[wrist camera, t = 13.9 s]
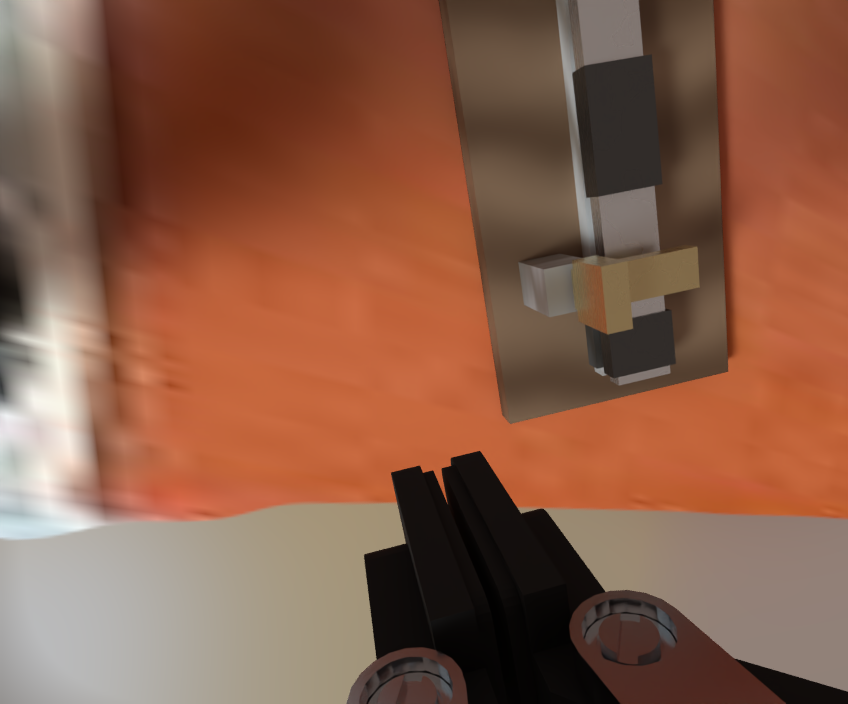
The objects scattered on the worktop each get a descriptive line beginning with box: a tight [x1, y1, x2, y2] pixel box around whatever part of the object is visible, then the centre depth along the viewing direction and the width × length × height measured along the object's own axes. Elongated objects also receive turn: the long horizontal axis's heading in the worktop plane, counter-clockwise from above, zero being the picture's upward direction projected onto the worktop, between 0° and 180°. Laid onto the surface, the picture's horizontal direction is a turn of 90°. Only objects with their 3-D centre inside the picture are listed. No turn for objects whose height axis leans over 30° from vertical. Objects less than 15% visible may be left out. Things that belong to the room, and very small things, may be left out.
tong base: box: [439, 0, 728, 424], centre depth 30 cm, size 31×14×6 cm, turn 10°
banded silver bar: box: [568, 0, 676, 385], centre depth 29 cm, size 26×4×1 cm, turn 10°
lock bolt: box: [571, 245, 700, 334], centre depth 27 cm, size 6×3×4 cm, turn 100°
